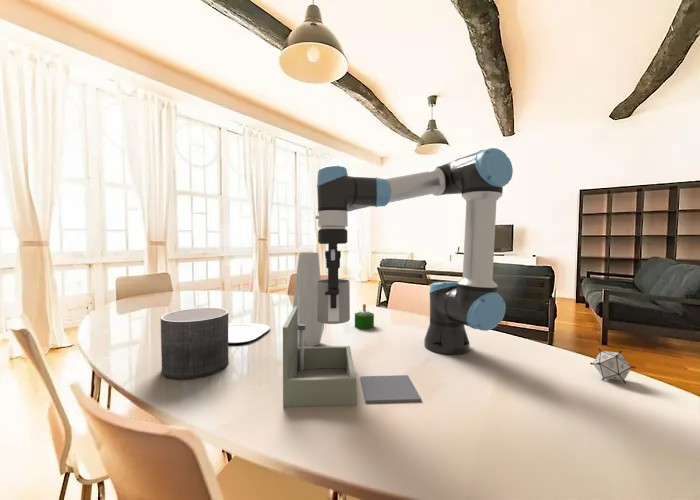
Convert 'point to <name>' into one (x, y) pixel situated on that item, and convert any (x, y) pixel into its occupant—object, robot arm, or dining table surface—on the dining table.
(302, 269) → the vase
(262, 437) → the dining table surface
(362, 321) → the candle
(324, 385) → the case
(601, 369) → the game die
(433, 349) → the robot arm
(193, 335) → the planter
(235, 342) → the plate
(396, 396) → the mat
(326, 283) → the cup
